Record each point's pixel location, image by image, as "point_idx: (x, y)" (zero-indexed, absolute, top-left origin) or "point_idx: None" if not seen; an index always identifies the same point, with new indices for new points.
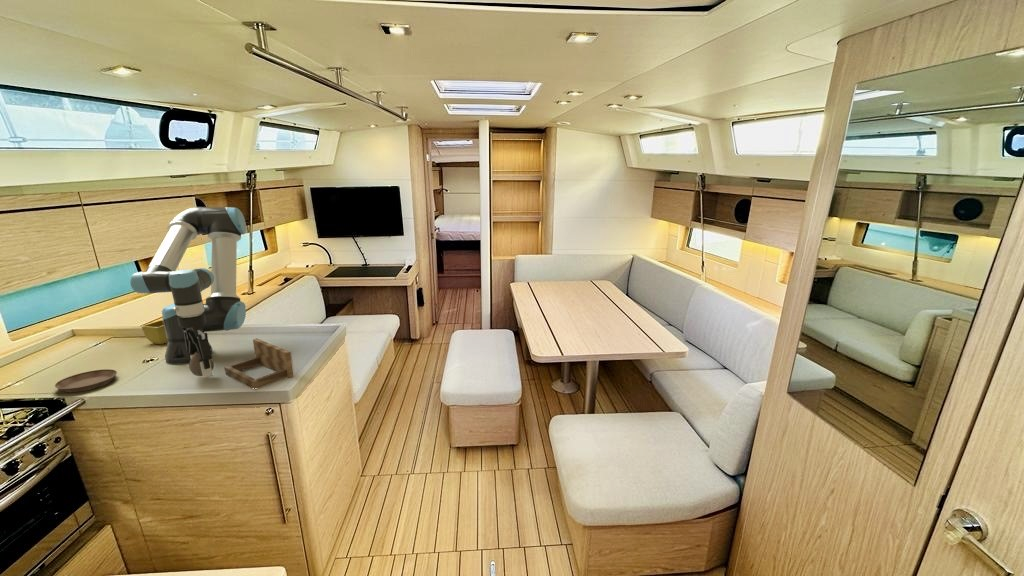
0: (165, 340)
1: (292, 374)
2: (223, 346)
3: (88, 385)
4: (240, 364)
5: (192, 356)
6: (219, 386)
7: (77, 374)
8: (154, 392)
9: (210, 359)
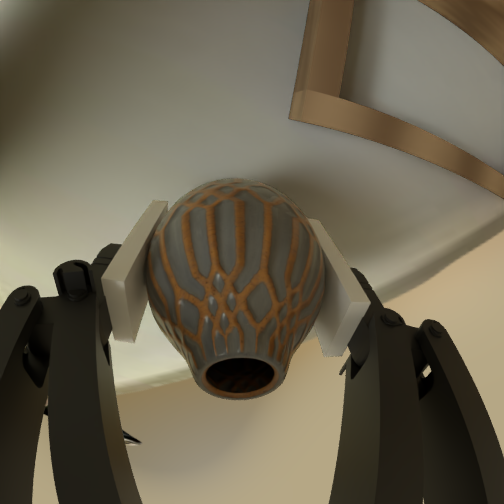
0: None
1: None
2: None
3: None
4: (345, 38)
5: (133, 329)
6: (389, 231)
7: None
8: (182, 356)
9: (315, 254)
